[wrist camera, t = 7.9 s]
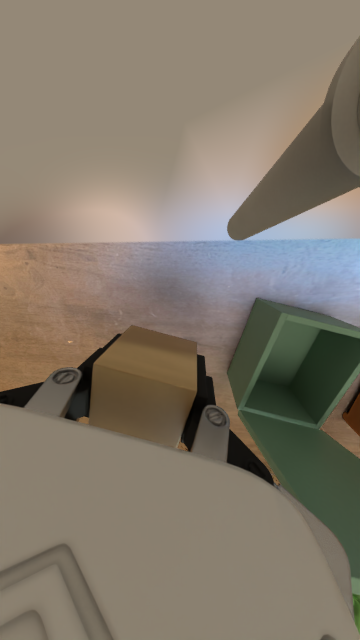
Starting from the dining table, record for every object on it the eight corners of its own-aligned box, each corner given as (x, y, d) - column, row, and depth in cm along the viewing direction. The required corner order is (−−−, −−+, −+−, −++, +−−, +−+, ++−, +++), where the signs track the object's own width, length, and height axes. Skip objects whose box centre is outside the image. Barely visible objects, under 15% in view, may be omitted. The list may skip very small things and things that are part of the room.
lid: (351, 577, 9) (347, 592, 9) (596, 638, 8) (592, 655, 8) (238, 409, 25) (237, 414, 25) (321, 430, 25) (320, 435, 25)
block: (131, 324, 11) (92, 363, 7) (197, 341, 11) (197, 391, 7) (123, 378, 13) (86, 436, 9) (180, 393, 13) (173, 459, 9)
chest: (256, 297, 28) (281, 312, 20) (329, 315, 28) (384, 337, 20) (226, 372, 34) (237, 409, 25) (288, 388, 34) (319, 429, 25)
